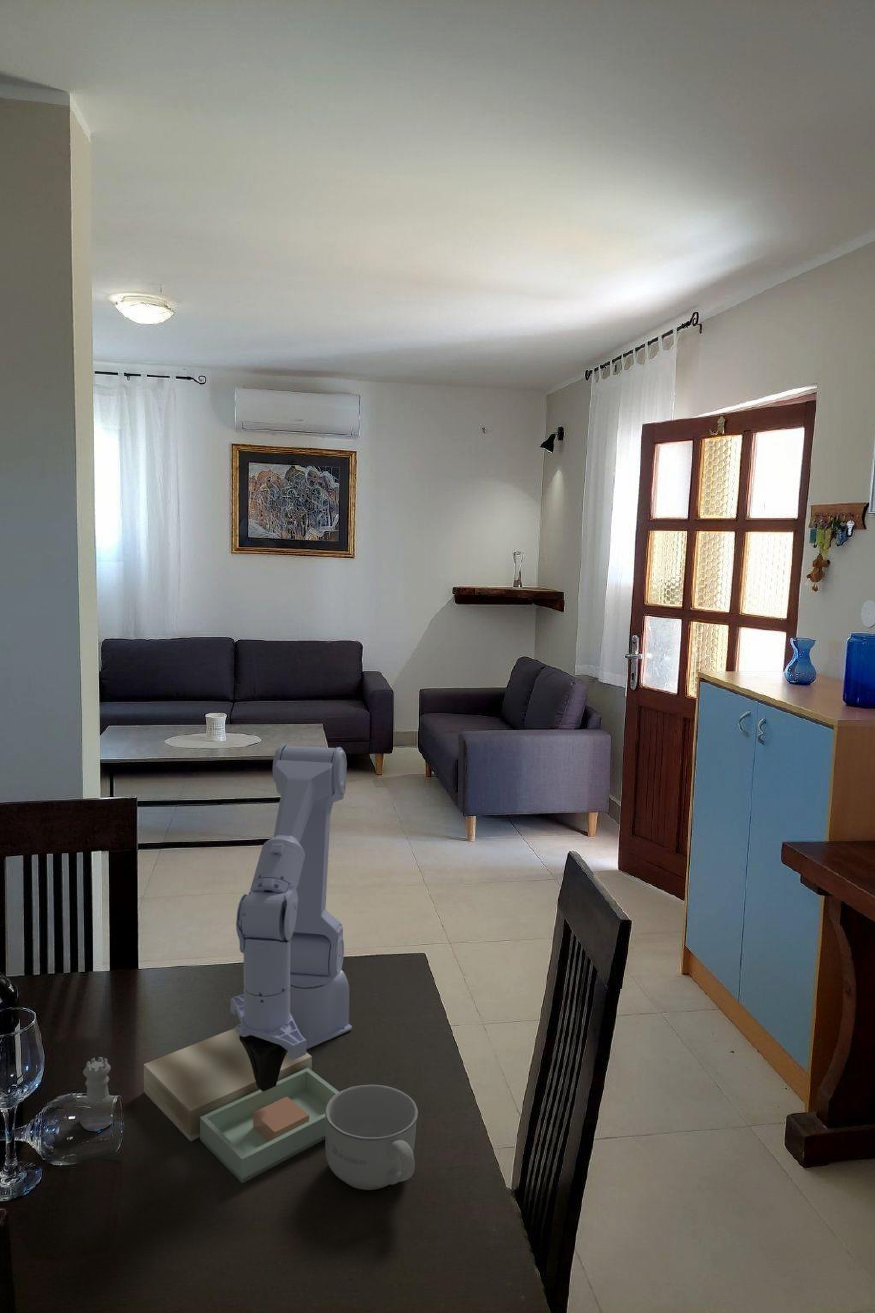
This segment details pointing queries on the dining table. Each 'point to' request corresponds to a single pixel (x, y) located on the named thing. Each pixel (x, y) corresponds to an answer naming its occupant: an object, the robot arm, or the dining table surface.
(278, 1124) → the tile
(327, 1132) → the teacup
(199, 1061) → the beige banded block
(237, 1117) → the box
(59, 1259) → the dining table surface
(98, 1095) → the rook chess piece
